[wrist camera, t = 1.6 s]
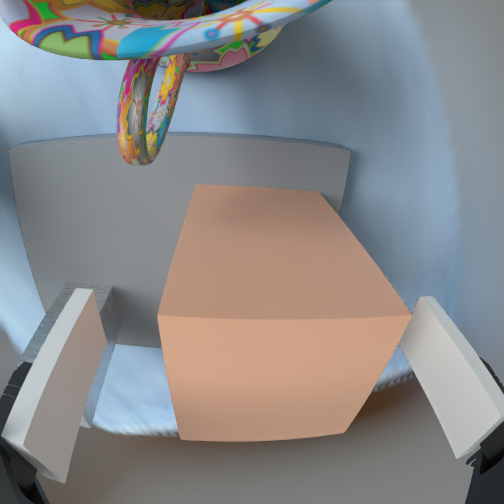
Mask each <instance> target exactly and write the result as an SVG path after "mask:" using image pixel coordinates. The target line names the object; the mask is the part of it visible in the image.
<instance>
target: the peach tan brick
mask: <svg viewBox="0 0 504 504" xmlns="http://www.w3.org/2000/svg"><path fill="white" fill-rule="evenodd" d="M411 317H412V314H411V312H410V311H409V309H408V308H407V306H406V305H405V303H404V302H403V300H402V299H401V298H400V296H399V295H398V293H397V292H396V290H395V289H394V288H393V286H392V285H391V283H390V282H389V281H388V279H387V278H386V276H385V275H384V274H383V272H382V271H381V270H380V268H379V267H378V266H377V264H376V263H375V262H374V260H373V259H372V258H371V256H370V255H369V254H368V252H367V251H366V250H365V248H364V247H363V246H362V244H361V243H360V242H359V241H358V239H357V238H356V237H355V235H354V234H353V233H352V232H351V230H350V229H349V228H348V227H347V225H346V224H345V223H344V222H343V220H342V219H341V218H340V217H339V216H338V214H337V213H336V212H335V211H334V209H333V208H332V207H331V206H330V205H329V203H328V202H327V201H326V200H325V199H324V197H323V196H322V195H321V194H320V193H319V192H315V191H304V190H292V189H279V188H265V187H249V186H230V185H207V184H196V186H195V189H194V192H193V195H192V198H191V201H190V204H189V207H188V210H187V213H186V216H185V219H184V222H183V226H182V229H181V232H180V235H179V239H178V242H177V245H176V249H175V252H174V256H173V259H172V262H171V266H170V269H169V273H168V277H167V280H166V284H165V288H164V291H163V295H162V299H161V303H160V306H159V310H158V314H157V318H158V325H159V332H160V338H161V345H162V351H163V357H164V362H165V368H166V374H167V379H168V384H169V389H170V394H171V399H172V404H173V408H174V413H175V417H176V422H177V426H178V430H179V434H180V439H182V440H197V441H266V440H267V441H268V440H285V439H297V438H307V437H316V436H324V435H332V434H338V433H344V432H345V431H346V429H347V428H348V427H349V425H350V424H351V422H352V421H353V419H354V418H355V416H356V415H357V413H358V412H359V410H360V409H361V407H362V406H363V404H364V402H365V401H366V399H367V398H368V396H369V394H370V393H371V391H372V390H373V388H374V386H375V385H376V383H377V381H378V380H379V378H380V376H381V374H382V373H383V371H384V369H385V367H386V366H387V364H388V362H389V360H390V358H391V356H392V355H393V353H394V351H395V349H396V347H397V345H398V343H399V341H400V339H401V337H402V335H403V333H404V331H405V329H406V327H407V325H408V323H409V321H410V319H411Z"/></svg>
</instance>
